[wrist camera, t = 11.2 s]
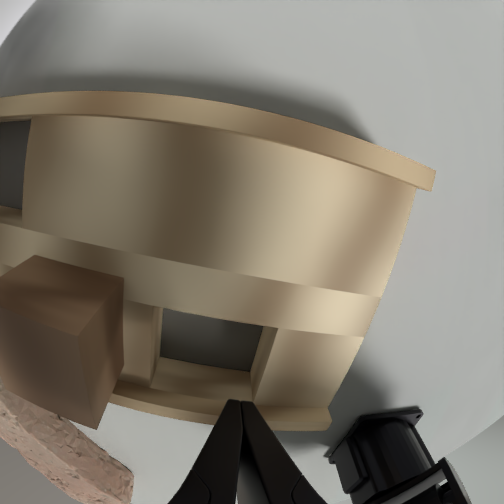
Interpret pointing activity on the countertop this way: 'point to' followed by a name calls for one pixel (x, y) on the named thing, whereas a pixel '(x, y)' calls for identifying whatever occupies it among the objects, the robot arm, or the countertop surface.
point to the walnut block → (61, 337)
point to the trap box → (215, 238)
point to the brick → (63, 452)
